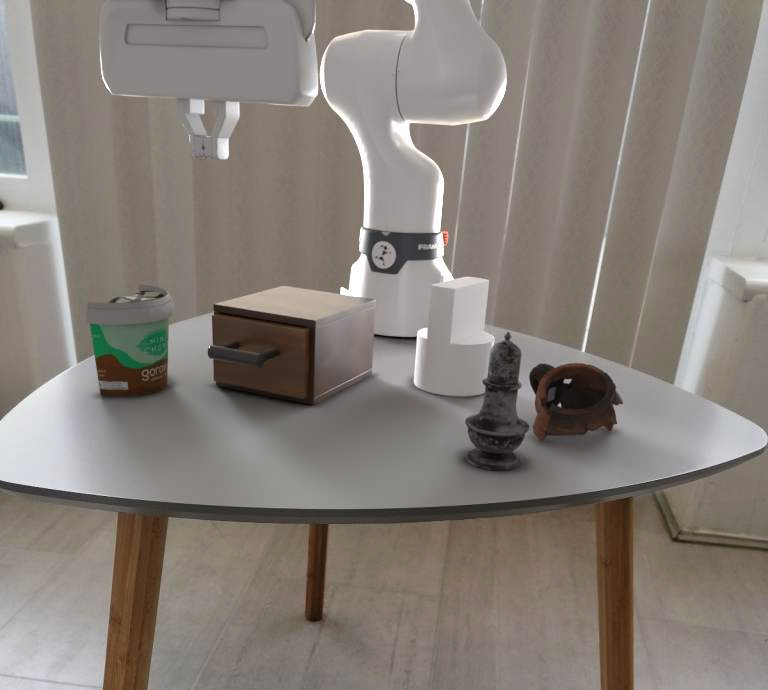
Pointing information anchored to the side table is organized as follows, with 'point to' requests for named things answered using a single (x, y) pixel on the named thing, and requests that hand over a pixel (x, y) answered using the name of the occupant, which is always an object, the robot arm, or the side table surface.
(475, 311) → the cylinder with rectangular tab
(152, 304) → the food container
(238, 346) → the drawer
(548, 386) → the pottery mug
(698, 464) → the side table surface
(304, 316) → the cabinet
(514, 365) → the salt shaker
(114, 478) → the side table surface
